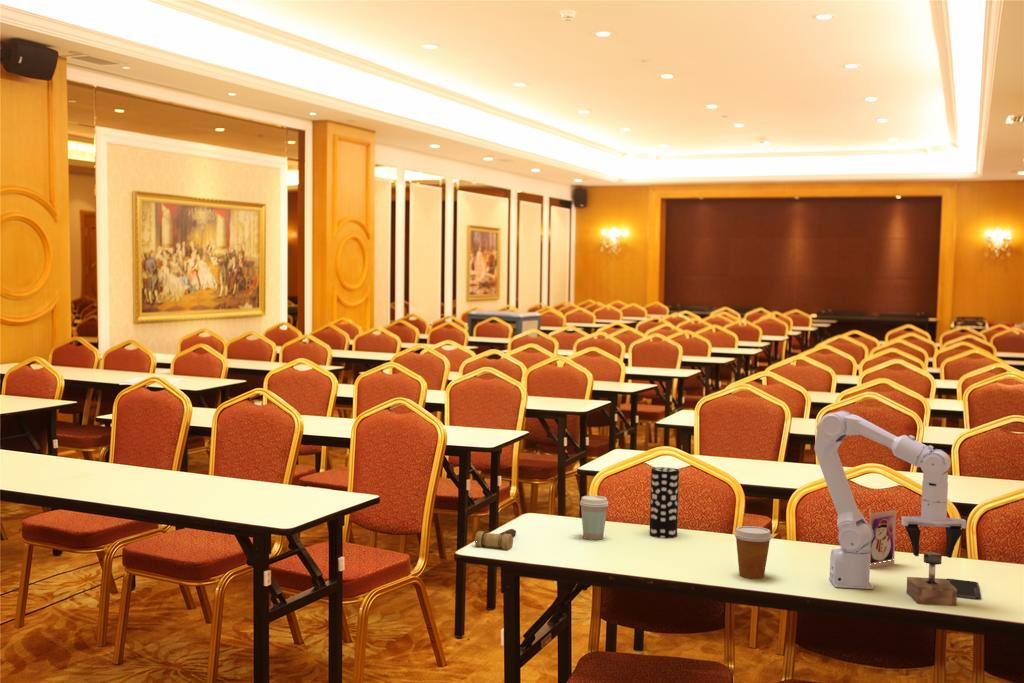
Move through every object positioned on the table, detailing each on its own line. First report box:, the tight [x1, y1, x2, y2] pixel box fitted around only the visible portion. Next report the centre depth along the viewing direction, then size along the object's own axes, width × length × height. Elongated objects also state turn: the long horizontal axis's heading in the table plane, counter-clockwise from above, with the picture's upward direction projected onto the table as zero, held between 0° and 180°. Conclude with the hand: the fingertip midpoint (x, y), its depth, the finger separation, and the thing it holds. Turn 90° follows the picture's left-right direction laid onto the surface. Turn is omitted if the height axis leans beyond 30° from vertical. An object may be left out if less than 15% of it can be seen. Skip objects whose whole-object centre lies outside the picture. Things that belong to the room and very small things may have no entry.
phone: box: [945, 578, 982, 601], centre depth 254 cm, size 8×1×15 cm
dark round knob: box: [923, 551, 943, 584], centre depth 245 cm, size 4×4×7 cm
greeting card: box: [868, 509, 897, 569], centre depth 278 cm, size 11×7×15 cm, turn 123°
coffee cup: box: [579, 494, 609, 541], centre depth 301 cm, size 8×8×12 cm
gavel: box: [474, 528, 517, 551], centre depth 294 cm, size 21×5×10 cm
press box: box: [906, 576, 958, 606], centre depth 245 cm, size 9×9×4 cm
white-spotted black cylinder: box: [649, 466, 680, 539], centre depth 307 cm, size 8×8×20 cm
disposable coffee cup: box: [733, 525, 773, 579], centre depth 263 cm, size 10×10×12 cm
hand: (932, 556), depth 245 cm, fingers open, 7 cm apart
